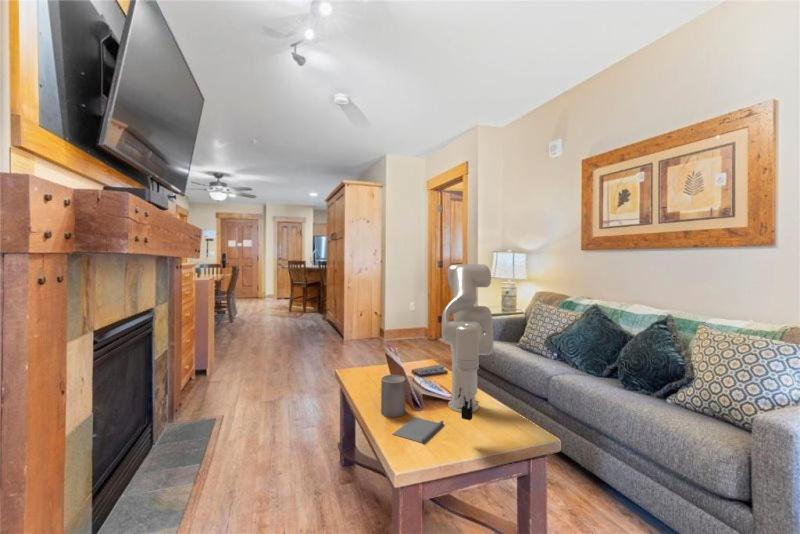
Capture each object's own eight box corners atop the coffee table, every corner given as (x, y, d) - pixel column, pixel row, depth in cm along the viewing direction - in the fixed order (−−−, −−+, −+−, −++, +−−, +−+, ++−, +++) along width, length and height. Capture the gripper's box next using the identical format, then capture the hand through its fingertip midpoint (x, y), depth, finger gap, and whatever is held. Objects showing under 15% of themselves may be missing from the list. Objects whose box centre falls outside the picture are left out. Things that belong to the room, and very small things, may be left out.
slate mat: (414, 417, 136) (414, 413, 136) (444, 425, 130) (444, 421, 130) (392, 435, 122) (392, 430, 122) (424, 444, 116) (424, 439, 116)
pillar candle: (388, 406, 147) (388, 370, 147) (409, 410, 143) (409, 373, 143) (376, 415, 139) (376, 376, 139) (398, 419, 134) (398, 380, 134)
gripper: (464, 356, 125) (463, 408, 125) (447, 367, 112) (447, 424, 112) (484, 359, 121) (484, 412, 122) (470, 370, 108) (470, 430, 109)
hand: (466, 418), depth 117 cm, fingers closed
